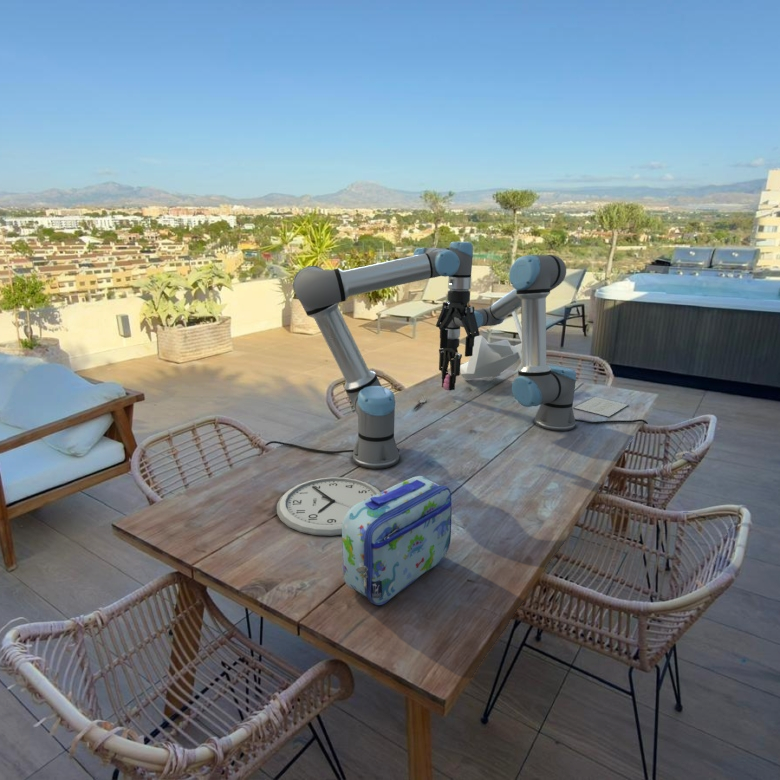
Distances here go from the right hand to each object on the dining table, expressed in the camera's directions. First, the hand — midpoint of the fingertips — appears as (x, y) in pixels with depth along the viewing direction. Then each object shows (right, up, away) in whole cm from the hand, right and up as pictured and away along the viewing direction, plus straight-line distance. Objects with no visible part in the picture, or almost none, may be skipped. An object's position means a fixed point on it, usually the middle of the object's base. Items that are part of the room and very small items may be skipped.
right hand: (448, 388), depth 236 cm
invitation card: (+65, -8, -9) cm, 66 cm away
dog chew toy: (0, -1, 0) cm, 1 cm away
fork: (-14, -7, -11) cm, 19 cm away
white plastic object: (+26, +1, +17) cm, 31 cm away
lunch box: (-24, -42, -122) cm, 131 cm away
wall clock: (-42, -32, -93) cm, 107 cm away
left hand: (-4, +12, -55) cm, 57 cm away
